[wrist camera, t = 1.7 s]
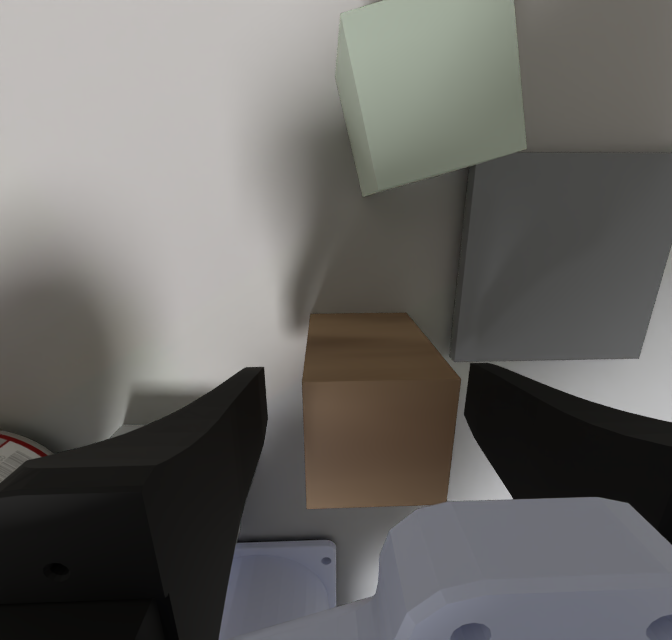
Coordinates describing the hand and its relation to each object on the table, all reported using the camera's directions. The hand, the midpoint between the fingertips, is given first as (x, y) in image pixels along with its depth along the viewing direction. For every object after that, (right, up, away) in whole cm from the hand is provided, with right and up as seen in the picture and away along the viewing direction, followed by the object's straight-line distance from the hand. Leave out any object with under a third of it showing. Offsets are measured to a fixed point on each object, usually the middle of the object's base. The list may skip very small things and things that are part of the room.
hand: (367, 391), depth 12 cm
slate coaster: (+8, +5, +2) cm, 9 cm away
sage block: (+1, +10, 0) cm, 10 cm away
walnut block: (0, +1, +3) cm, 3 cm away
